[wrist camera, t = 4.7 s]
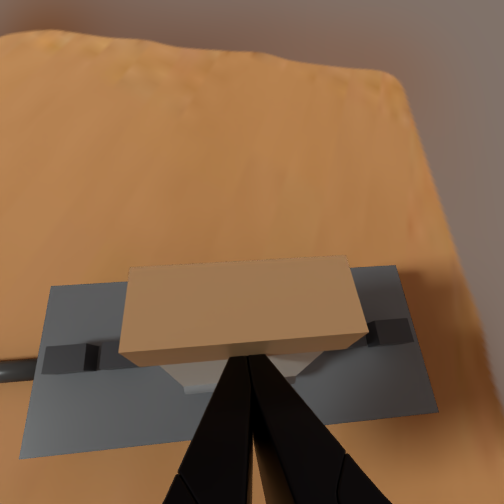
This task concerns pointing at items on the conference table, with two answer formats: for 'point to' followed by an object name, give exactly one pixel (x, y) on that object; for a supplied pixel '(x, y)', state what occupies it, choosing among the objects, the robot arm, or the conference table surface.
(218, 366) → the lever
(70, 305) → the breaker box
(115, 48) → the conference table surface
